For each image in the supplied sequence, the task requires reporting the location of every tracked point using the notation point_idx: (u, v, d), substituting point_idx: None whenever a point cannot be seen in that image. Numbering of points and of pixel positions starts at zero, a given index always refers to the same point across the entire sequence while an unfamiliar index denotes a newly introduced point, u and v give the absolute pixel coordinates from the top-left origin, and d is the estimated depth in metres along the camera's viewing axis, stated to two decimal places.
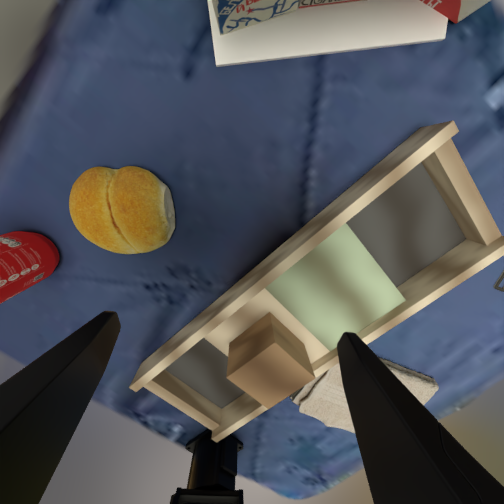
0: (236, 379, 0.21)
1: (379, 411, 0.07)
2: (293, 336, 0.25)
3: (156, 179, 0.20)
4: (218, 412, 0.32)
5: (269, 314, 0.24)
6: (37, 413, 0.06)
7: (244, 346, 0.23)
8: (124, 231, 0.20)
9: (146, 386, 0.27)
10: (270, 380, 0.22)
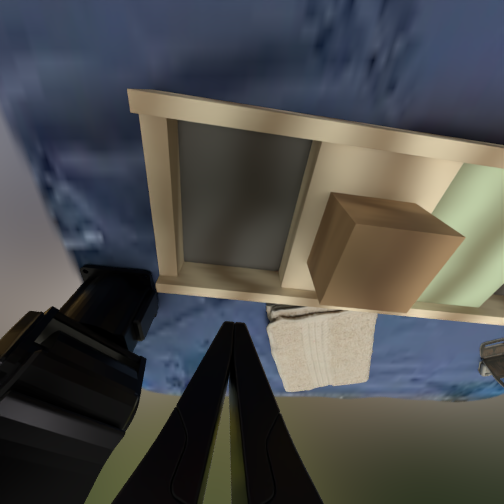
0: (358, 238, 0.12)
1: (234, 402, 0.07)
2: None
3: None
4: (181, 261, 0.20)
5: (417, 205, 0.15)
6: (217, 423, 0.06)
7: (379, 210, 0.13)
8: None
9: (145, 127, 0.13)
10: (379, 276, 0.13)
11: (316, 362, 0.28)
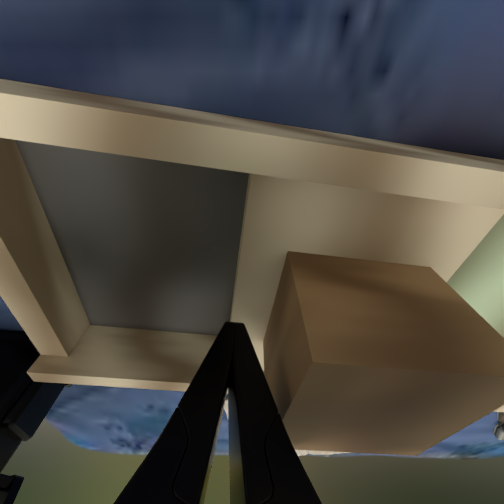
0: (322, 381, 0.06)
1: (233, 402, 0.07)
2: None
3: None
4: (81, 329, 0.14)
5: (434, 273, 0.09)
6: (218, 423, 0.06)
7: (368, 298, 0.07)
8: None
9: None
10: (368, 422, 0.07)
11: None
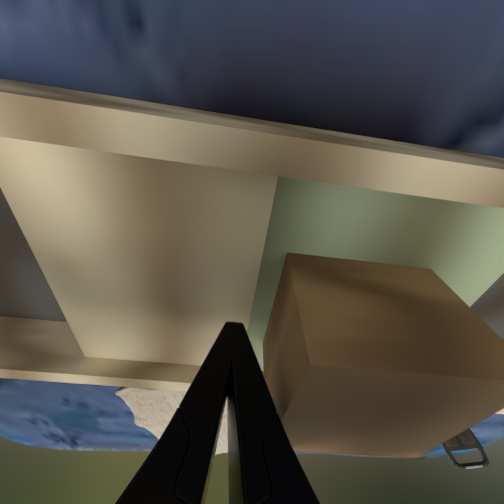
0: (319, 383, 0.06)
1: (231, 402, 0.07)
2: None
3: None
4: None
5: (434, 274, 0.09)
6: (219, 423, 0.06)
7: (367, 300, 0.07)
8: None
9: None
10: (366, 425, 0.07)
11: None
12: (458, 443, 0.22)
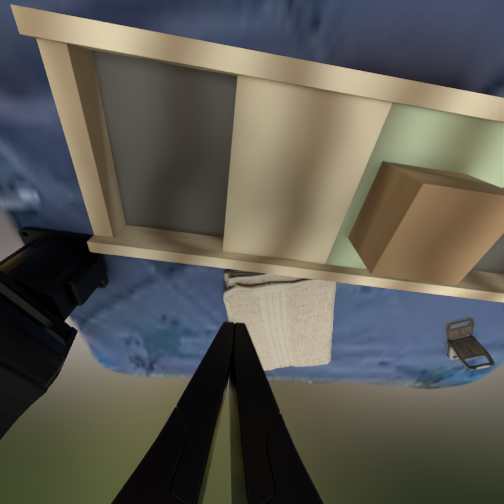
0: (423, 200, 0.12)
1: (234, 402, 0.07)
2: None
3: None
4: (120, 223, 0.20)
5: (469, 176, 0.15)
6: (217, 422, 0.06)
7: (437, 176, 0.13)
8: None
9: (47, 58, 0.12)
10: (436, 243, 0.13)
11: (275, 338, 0.27)
12: (470, 353, 0.28)
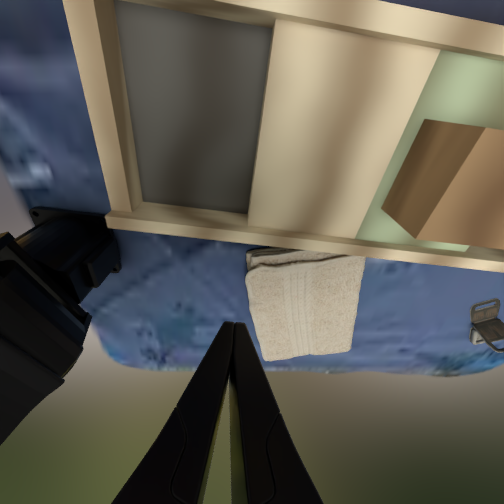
0: (483, 148, 0.11)
1: (234, 402, 0.07)
2: None
3: None
4: (138, 199, 0.19)
5: None
6: (217, 422, 0.06)
7: None
8: None
9: (68, 1, 0.11)
10: (490, 200, 0.12)
11: (297, 323, 0.26)
12: (496, 335, 0.27)
